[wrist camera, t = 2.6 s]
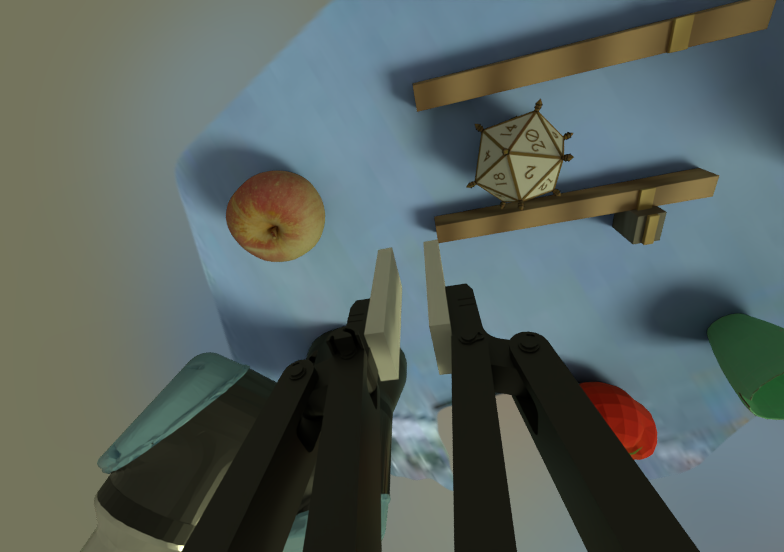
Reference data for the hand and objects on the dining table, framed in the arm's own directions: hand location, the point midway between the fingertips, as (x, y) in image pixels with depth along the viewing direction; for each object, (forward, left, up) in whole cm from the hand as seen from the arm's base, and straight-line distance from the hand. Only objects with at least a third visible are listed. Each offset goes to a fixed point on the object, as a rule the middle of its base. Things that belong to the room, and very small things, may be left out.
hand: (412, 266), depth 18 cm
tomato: (+20, -41, -19) cm, 49 cm away
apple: (-13, -1, -19) cm, 23 cm away
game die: (+10, 0, -19) cm, 21 cm away
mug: (+39, -30, -19) cm, 52 cm away
